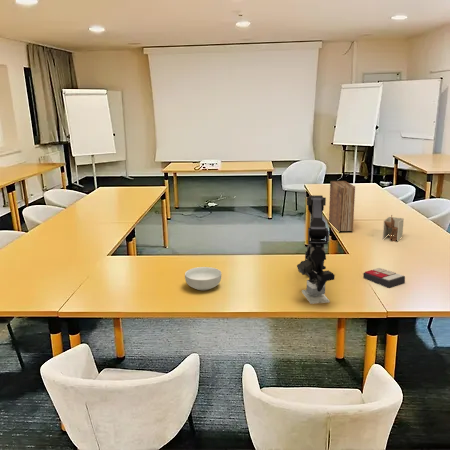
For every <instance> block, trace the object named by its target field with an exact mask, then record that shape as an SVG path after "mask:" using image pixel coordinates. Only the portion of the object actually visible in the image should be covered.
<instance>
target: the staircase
mask: <svg viewBox="0 0 450 450" xmlns="http://www.w3.org/2000/svg"><path fill="white" fill-rule="evenodd" d="M404 220H405V219H404V218H402V217H393V214H391V216H387V218H385V219H384V220H383V227H382V228H383V229H382V240H383V239H384V238H385V237H386V236H387V235H388V234H389V235H390V236H389V241H390V240H391V239H392V241H396V240H397V241H398V240H399V239H400V238H401V237H402V238H403V231H404ZM391 235H392V236H391ZM393 235H394V236H393ZM387 237H388V236H387ZM387 237H386V238H387ZM386 238H385V239H386ZM402 238H401V239H402ZM385 239H384V240H385ZM401 239H400V240H401ZM400 240H399V241H400ZM399 241H398V242H399Z"/></svg>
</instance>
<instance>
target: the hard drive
mask: <svg viewBox="0 0 450 450" xmlns="http://www.w3.org/2000/svg"><path fill="white" fill-rule="evenodd" d="M301 293H302V294H303V296H304V297H305V299H306V300H307V301H308V302H309V304H310V305H313V304H314V305H315V304H324V303H330V299H329V298H328V297H327V296H326V294H322V295H316V296H312V295H310V294H309V293H308V292H307V289H302V290H301Z"/></svg>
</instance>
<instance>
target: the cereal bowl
mask: <svg viewBox="0 0 450 450" xmlns="http://www.w3.org/2000/svg"><path fill="white" fill-rule="evenodd" d="M184 279H185V283H186V284H187V285H188V286H189V287H191V288H193V289H195V290H198V291H209V290H211V289H213V288H215V287H216V286H218V285H220V282H221V279H222V271H221V270H220V269H218V268H216V267H211V266H198V267H192V268H190V269H188V270H186V271H185V273H184Z"/></svg>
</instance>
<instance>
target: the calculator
mask: <svg viewBox="0 0 450 450" xmlns="http://www.w3.org/2000/svg"><path fill="white" fill-rule="evenodd" d="M362 279H365V280H367V281H369V282H372V283H375V284H377V285H380V286H383V287H384V288H386V289H392V288H395V287H398V286H400V285H404V284H405V282H406V281H405V280H406V276H405V275H404V274H400V273H396V272H395V271H391V270H387V269H385V268H381V267H377V268H374V269H371V270H367V271H364V272H363V278H362Z"/></svg>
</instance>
